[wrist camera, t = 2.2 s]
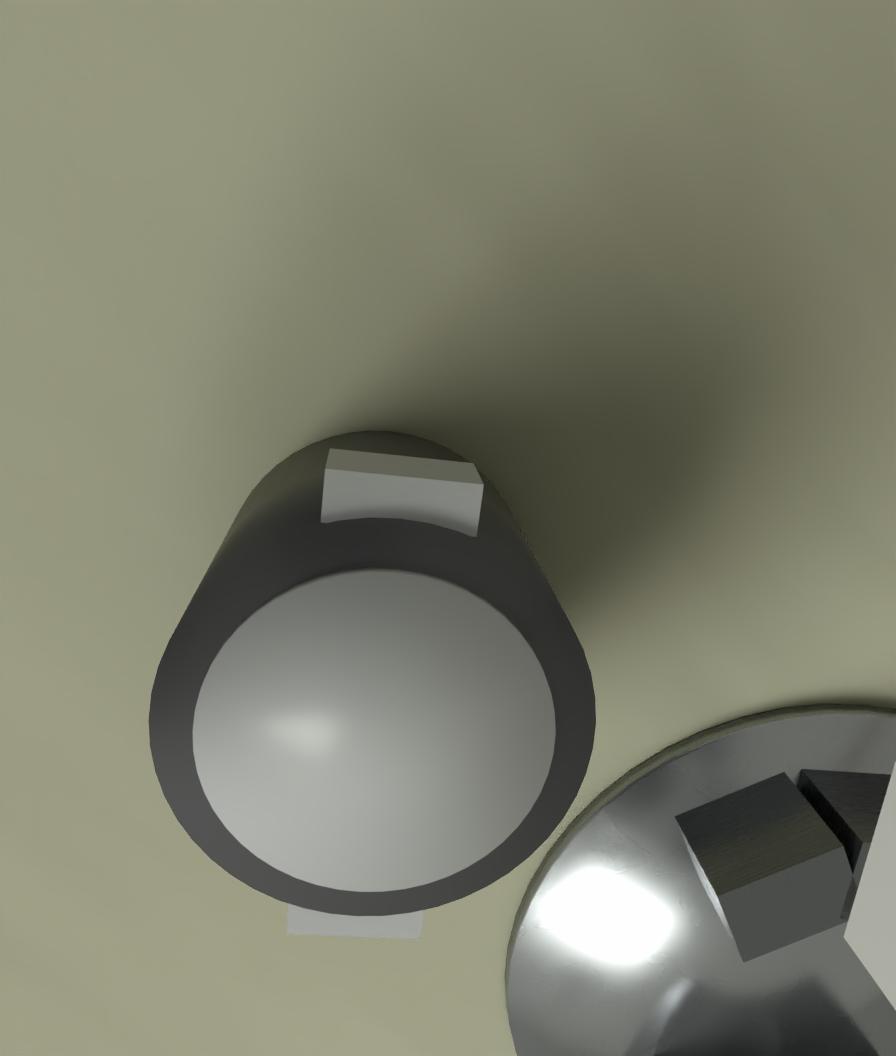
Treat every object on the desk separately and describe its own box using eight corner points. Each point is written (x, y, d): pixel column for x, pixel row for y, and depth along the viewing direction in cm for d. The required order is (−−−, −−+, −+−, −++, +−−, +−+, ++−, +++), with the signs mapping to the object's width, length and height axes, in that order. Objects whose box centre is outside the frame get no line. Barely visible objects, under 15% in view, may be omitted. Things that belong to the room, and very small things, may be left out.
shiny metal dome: (554, 682, 18) (588, 760, 15) (1142, 726, 20) (1272, 804, 17) (469, 1163, 22) (483, 1296, 19) (962, 1167, 24) (1042, 1291, 21)
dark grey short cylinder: (234, 385, 16) (150, 459, 10) (548, 419, 17) (645, 508, 11) (217, 722, 18) (139, 949, 12) (497, 741, 19) (554, 964, 13)
